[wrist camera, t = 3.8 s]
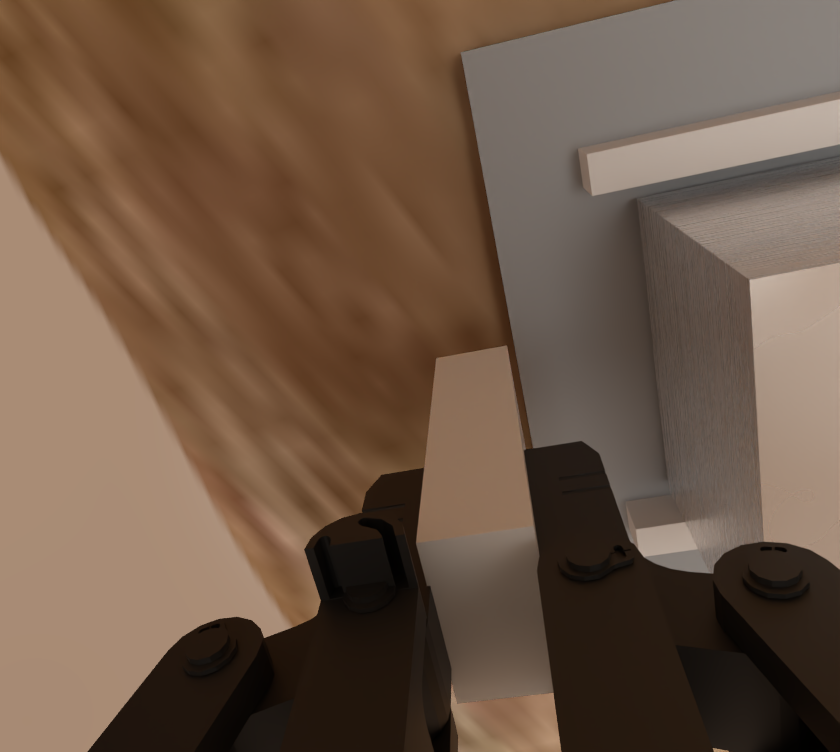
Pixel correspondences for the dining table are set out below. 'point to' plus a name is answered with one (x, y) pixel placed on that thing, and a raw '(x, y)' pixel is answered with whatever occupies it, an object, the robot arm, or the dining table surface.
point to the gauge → (749, 355)
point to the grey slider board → (631, 200)
